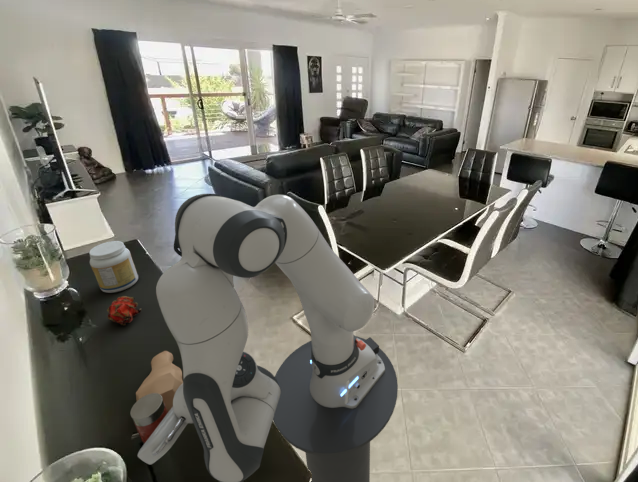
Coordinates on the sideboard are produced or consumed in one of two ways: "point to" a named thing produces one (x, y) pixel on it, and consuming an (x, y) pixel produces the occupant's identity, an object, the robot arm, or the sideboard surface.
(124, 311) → the dragon fruit
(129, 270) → the supplement tub
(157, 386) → the squash
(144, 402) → the tin
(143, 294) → the sideboard surface
